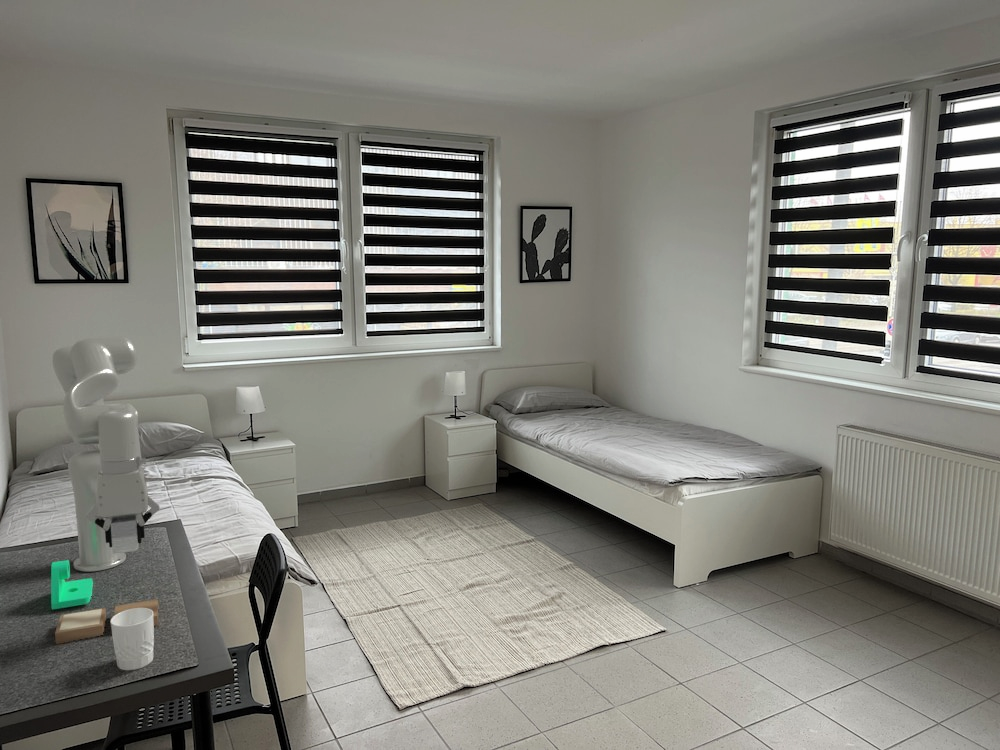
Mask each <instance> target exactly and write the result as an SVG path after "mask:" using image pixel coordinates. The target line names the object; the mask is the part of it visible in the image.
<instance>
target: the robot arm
mask: <svg viewBox="0 0 1000 750" xmlns="http://www.w3.org/2000/svg"><path fill="white" fill-rule="evenodd" d="M137 355H138V354H137V349H136V347H135V345H134V343H133V342H132V340H130V339H129V338H128V337H126V336H125V337H124V336H113V337H112V336H108V337H107V336H106V337H91V338H89V337H88V338H84V339H81V340H79V341H77V342H75V343H74V344H73V345H69V346H68V345H67V346H63V347H59V348H58V349H55V351H54V352H53V353H52V357H51V358H52V366H53V369H54V373H55V376H56V378H57V380H58V381H59V383H60V385H61V387H62V388H63V390H64V394H65V397H64V400H63V407H62V408H63V415H64V420H65V422H66V423H65V425H66V427H67V431H68V433H69V436H71V439H72V441H73V442H74V443H75V444H76V445H78V446H93V445H98V448H97V449H89V450H84V451H81V452H78V453H76V454H73V455H72V456H71V457H70V458H69V460H68V463H67V471H68V474H69V475H68V476H69V478H70V482H71V486H72V491H73V497H74V505H75V506H74V507H75V508H74V509H75V516H76V517H75V518H76V528H77V529H76V530H77V542H78V552H79V557H77V558H76V559H75V560H73V568H74V569H75V570H76V571H80V572H99V571H104V570H110V569H112V568H114V567H117V566H119V565H121V564H123V563H124V562H125V561H126V559H127V555H126V552H122V553H115V554H113V550H112V536H111V519H112V517H119V516H128V515H135V516H136V519H137V521H138V524H137V535H138V543H139V544H142V539H145V538H146V537H145V536H146V535H145V525H146V524H147V522H148V521H149V520H150V519H151V518H152V517H153V515H155V514H156V513H158V512H159V511H160V509H161V508H160V505H159V504H158V503H157V502H156V501H154V500H153V499H152V498H151V497H150V496H149V493H148V486H147V478H146V474H145V470H144V468H143V465H146V464H147V458H146V457H142V453H141V452H142V451H141V443H140V435H139V434H140V433H139V427H138V425H139V413H138V410H137V409H136V408H135V407H134V406H133V404H131V403H126V402H120V403H119V402H118V403H109V404H105V403H104V401H105V400H104V398H106V397H108V396H109V395H111V394H112V393H113V392H115V390H116V389H117V387H118V386H119V382H120V381H119V375H124V374H126V373H129V372H130V371H131V370H132V369H134V368H135V366H136V364H137V362H138V361H137V360H138V359H137V358H138V356H137ZM148 506H149V507H150V509H149V510H148V508H149V507H148Z"/></svg>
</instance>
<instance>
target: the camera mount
mask: <svg viewBox="0 0 1000 750" xmlns="http://www.w3.org/2000/svg"><path fill="white" fill-rule="evenodd" d="M70 567H71V566H70V560H69V559H67V560H66V559H64V560H60V561H53V562H51V568H50V569H51V570H50V571H51V575H50V580H51V581H50V588H51V589H50V591H51V592H50V593H51V594H50V597H51V598H50V603H51V605H50V606H51V610H57V609H58V610H59V609H64V608H69V607H76V606H81V605H82V606H83V605H87V604H89V603H90V602H91V601H92V597H93V587H94V581H93V578H91V577H90V578H88V577H87V578H83V579H76V580H69V581H66V579H67V580H68V579H70V575H71V568H70ZM91 596H92V597H91ZM90 600H91V601H90Z"/></svg>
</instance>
